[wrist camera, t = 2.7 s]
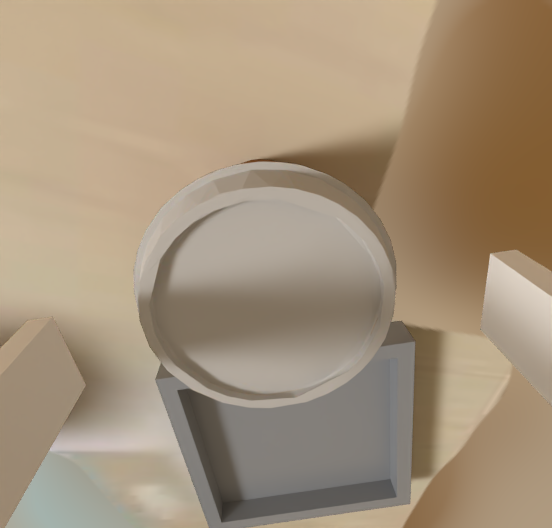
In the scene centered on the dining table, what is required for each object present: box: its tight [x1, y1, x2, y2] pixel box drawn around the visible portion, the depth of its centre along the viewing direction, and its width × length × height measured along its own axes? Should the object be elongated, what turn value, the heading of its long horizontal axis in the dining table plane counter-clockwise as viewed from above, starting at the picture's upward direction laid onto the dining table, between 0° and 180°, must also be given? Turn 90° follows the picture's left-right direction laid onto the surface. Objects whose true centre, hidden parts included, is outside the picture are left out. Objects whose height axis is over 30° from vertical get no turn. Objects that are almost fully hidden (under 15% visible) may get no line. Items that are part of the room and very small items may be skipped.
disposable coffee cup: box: [134, 159, 396, 408], centre depth 18 cm, size 10×10×12 cm
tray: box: [155, 321, 415, 528], centre depth 30 cm, size 18×18×2 cm
